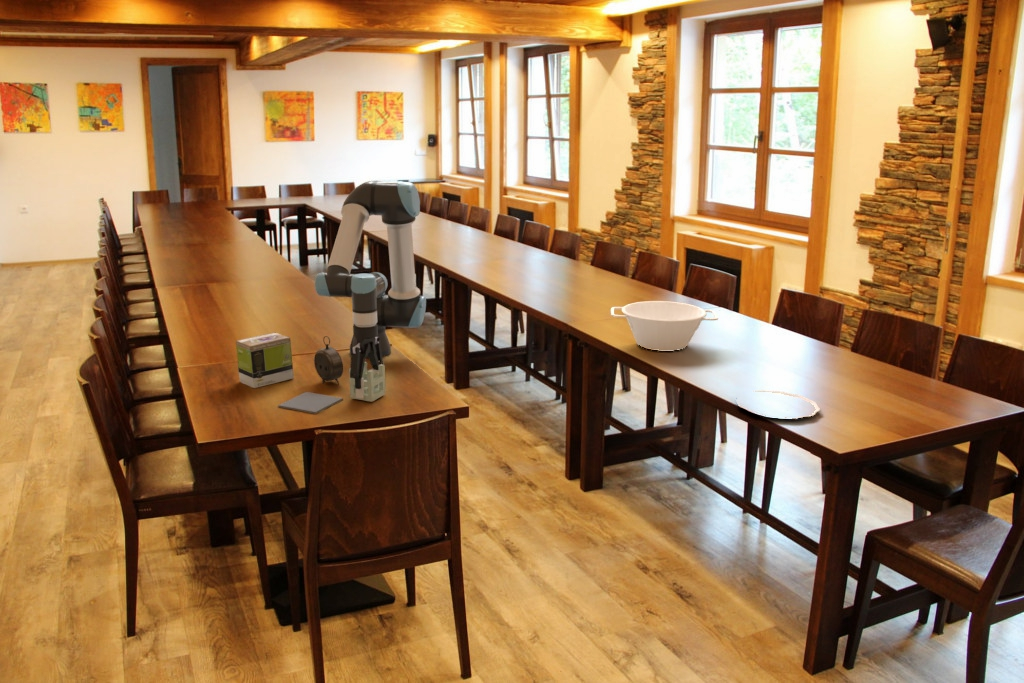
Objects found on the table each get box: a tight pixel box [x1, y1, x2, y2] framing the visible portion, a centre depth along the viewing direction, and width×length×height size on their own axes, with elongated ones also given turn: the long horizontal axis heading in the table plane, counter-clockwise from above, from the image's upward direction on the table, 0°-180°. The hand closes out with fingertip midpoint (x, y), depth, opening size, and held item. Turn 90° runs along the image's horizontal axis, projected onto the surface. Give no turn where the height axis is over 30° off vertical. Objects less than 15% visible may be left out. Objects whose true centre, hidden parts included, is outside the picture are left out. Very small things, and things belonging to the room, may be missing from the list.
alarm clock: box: [313, 335, 344, 386], centre depth 294 cm, size 11×5×16 cm, turn 47°
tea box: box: [235, 331, 294, 389], centre depth 296 cm, size 15×10×15 cm
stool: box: [348, 361, 387, 403], centre depth 281 cm, size 8×8×10 cm
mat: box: [277, 391, 344, 415], centre depth 276 cm, size 14×14×1 cm
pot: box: [610, 300, 719, 350], centre depth 342 cm, size 40×32×14 cm
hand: (367, 393), depth 282 cm, fingers closed on stool, 8 cm apart
